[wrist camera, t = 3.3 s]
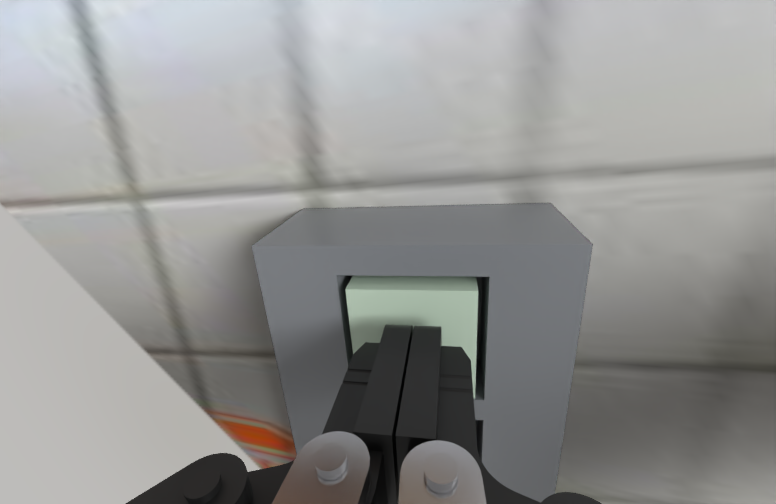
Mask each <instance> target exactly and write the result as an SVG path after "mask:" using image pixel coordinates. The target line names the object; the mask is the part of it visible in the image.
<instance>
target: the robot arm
mask: <svg viewBox="0 0 776 504" xmlns="http://www.w3.org/2000/svg"><path fill="white" fill-rule="evenodd" d="M126 504H601V503H600V502H598V501H596V500H594V499H592V498H590V497H587V496H584V495H581V494H577V493H570V492H562V493H556V494H553V495H550V496H549V497H547V498H545V499H544V500H543V501H542V502H541V503H540V502H538V501H536V500H533V499H531V498H529V497H526V496H524V495H522V494H519V493H517V492H515V491H513V490H511V489H509V488H507V487H505V486H504V485H502V484H501V483H500V482H498V481H497V480H496V479H495V478H494V477H493V476H492V475H491V474H490V473H489V472H488V471H487V469H486V468H485V466H484V465H483V463H482V461H481V459H480V457H479V454H478V449H477V438H476V424H475V411H474V397H473V383H472V370H471V360H470V358H469V357H468V356H467V354H466V353H465V351H464V350H463V348H462V347H455V346H442V328H441V326H416V325H415V326H414V329H413V326H412V325H388V324H386V325H385V327H384V330H383V334H382V337H381V340H380V343H370V342H365V343H364V344H363V345H362V346H361V347H360V348H359V349H358V350H357V351H356V352H355V353H354V354H353V356H352V358H351V361H350V364H349V366H348V370H347V372H346V374H345V376H344V379H343V384H341V387H340V389H339V392H338V394H337V397H336V399H335V402H334V404H333V407H332V410H331V412H330V415H329V417H328V420H327V422H326V425H325V427H324V430H323V433H322V435H319V436H317V437H315V438H314V439H312V440H311V441H309V442H308V443H307V444H306V445H305V446H304V447H303V448H302V449H301V450H300V452H299V453H298V455H297V457H296V458H295V460H294V461H292V462H289V463H287V464H283V465H280V466H275V467H270V468H266V469H261V470H256V471H251V472H247V470H246V466H245V464H244V462H243V461H242V460H241V459H240V458H238V457H237V456H235V455H232V454H227V453H219V454H213V455H209V456H206V457H204V458H201V459H199V460H197V461H195V462H194V463H191V464H190V465H188V466H187V467H185V468H183V469H182V470H180V471H179V472H177V473H175V474H173V475H172V476H170V477H168V478H167V479H165V480H164V481H162V482H160V483H159V484H157V485H155V486H154V487H152V488H150V489H149V490H147V491H146V492H144V493H142V494H141V495H139V496H137V497H136V498H134V499H132V500H131V501H129V502H128V503H126Z"/></svg>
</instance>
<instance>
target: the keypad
mask: <svg viewBox="0 0 776 504" xmlns="http://www.w3.org/2000/svg"><path fill="white" fill-rule="evenodd" d="M592 246H593V244H592V243H591V242H590V241H589V240H588V239H587V238H586V237H585V236H584V235H583V234H582V233H581V232H580V231H579V230H578V229H577V228H576V227H575V226H574V225H573V224H572V223H571V222H570V221H569V220H568V219H567V218H566V217H565V216H564V215H563V214H562V213H561V212H560V211H559V210H558V209H557V208H556V207H555V206H554V205H552V204H551V203H527V204H485V205H442V206H399V207H356V208H314V209H302V210H301V211H299V212H298V213H296V214H295V215H294V216H292V217H291V218H290V219H288V220H287V221H285V222H284V223H283V224H281V225H280V226H279V227H277V228H276V229H274V230H273V231H272V232H270V233H269V234H268V235H266V236H265V237H263V238H262V239H261V240H259V241H258V242H256V243H255V244H254V245H252V250H253V255H254V260H255V264H256V269H257V273H258V278H259V283H260V287H261V292H262V297H263V301H264V306H265V310H266V315H267V320H268V324H269V329H270V333H271V338H272V343H273V347H274V352H275V357H276V361H277V366H278V370H279V375H280V380H281V384H282V389H283V393H284V398H285V403H286V407H287V412H288V416H289V421H290V426H291V430H292V435H293V440H294V444H295V449H296V453H297V455H298V453H299V452H300V450H301V449H302V448H303V447H304V446H305V445H306V444H307V443H308V442H309V441H311V440H312V439H314V438H315V437H317V436H319V435H322V433H323V430H324V427H325V425H326V422H327V420H328V417H329V415H330V412H331V410H332V407H333V404H334V402H335V399H336V397H337V394H338V392H339V389H340V387H341V384H343V379H344V376H345V374H346V372H347V370H348V366H349V364H350V361H351V358H352V356H353V349H352V340H351V332H350V324H349V316H348V307H347V299H346V291H345V289H346V287H347V285H348V284H349V282H350V280H351V278H352V276H353V275H356V276H472V277H476V279H477V286H478V320H477V353H476V386H475V399H474V411H475V424H476V438H477V449H478V454H479V457H480V459H481V461H482V463H483V465H484V466H485V468H486V469H487V471H488V472H489V473H490V474H491V475H492V476H493V477H494V478H495V479H496V480H497V481H498V482H500V483H501V484H502V485H504V486H505V487H507V488H509V489H511V490H513V491H515V492H517V493H519V494H522V495H524V496H526V497H529V498H531V499H533V500H536V501H538V502H540V503H541V502H542V501H543V500H544V499H545V498H547V497H549V496H550V495H553V494H555V489H556V482H557V476H558V469H559V463H560V456H561V450H562V443H563V436H564V430H565V423H566V417H567V410H568V404H569V397H570V390H571V384H572V377H573V371H574V364H575V358H576V351H577V344H578V338H579V331H580V325H581V318H582V312H583V305H584V298H585V292H586V285H587V279H588V272H589V266H590V259H591V252H592Z"/></svg>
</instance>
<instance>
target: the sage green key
mask: <svg viewBox="0 0 776 504" xmlns="http://www.w3.org/2000/svg"><path fill="white" fill-rule="evenodd" d="M345 291H346V299H347V307H348V316H349V324H350V332H351V340H352V349H353V354H354V353H355V352H356V351H357V350H358V349H359V348H360V347H361V346H362V345H363V344H364V343H365V342H370V343H380V340H381V337H382V334H383V330H384V327H385V325H386V324H388V325H412V326H413V329H414V326H415V325H416V326H441V328H442V346H455V347H462V348H463V350H464V351H465V353H466V354H467V356H468V357H469V358H470V360H471V370H472V383H473V397H474V399H475V386H476V353H477V320H478V286H477V279H476V277H472V276H356V275H353V276H352V278H351V280H350V282H349V284H348V285H347V287H346V289H345Z"/></svg>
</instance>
